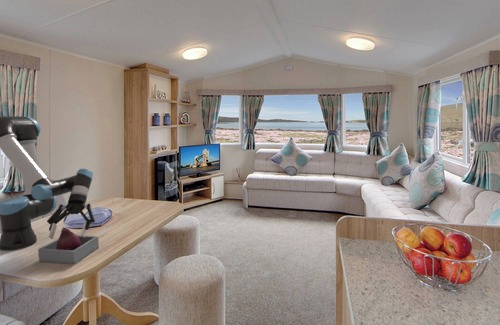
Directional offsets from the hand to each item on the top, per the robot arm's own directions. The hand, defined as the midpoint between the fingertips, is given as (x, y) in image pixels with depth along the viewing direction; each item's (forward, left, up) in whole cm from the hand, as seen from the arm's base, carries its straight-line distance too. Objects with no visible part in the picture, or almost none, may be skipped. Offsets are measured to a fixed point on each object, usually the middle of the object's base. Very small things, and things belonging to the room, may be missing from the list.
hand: (66, 237), depth 133 cm
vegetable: (-1, +2, -9) cm, 9 cm away
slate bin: (-1, +2, -10) cm, 10 cm away
